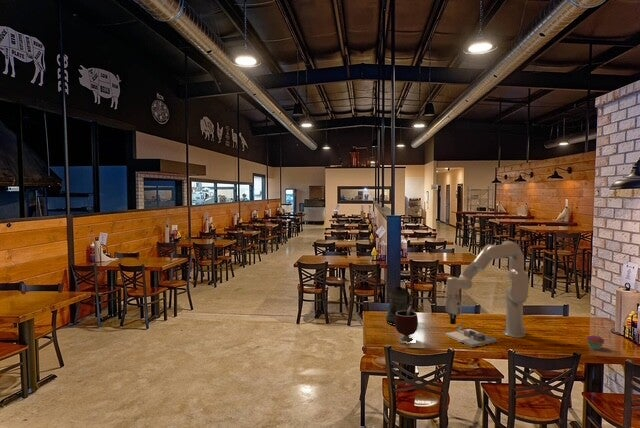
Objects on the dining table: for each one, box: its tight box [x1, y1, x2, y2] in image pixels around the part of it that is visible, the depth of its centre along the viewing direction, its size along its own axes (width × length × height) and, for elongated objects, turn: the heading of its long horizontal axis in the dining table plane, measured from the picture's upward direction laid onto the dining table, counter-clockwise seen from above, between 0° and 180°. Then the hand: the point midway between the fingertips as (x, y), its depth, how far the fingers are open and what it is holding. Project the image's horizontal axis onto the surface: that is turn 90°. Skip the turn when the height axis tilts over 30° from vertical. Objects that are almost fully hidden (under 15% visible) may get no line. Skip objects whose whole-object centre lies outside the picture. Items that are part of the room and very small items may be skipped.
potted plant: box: [385, 286, 412, 324], centre depth 286 cm, size 16×19×25 cm
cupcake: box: [586, 327, 605, 351], centre depth 231 cm, size 9×8×12 cm
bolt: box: [455, 322, 470, 334], centre depth 255 cm, size 10×2×6 cm, turn 24°
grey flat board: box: [445, 328, 498, 348], centre depth 249 cm, size 22×20×5 cm
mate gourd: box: [394, 305, 419, 342], centre depth 249 cm, size 16×14×20 cm
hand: (453, 323), depth 263 cm, fingers closed
